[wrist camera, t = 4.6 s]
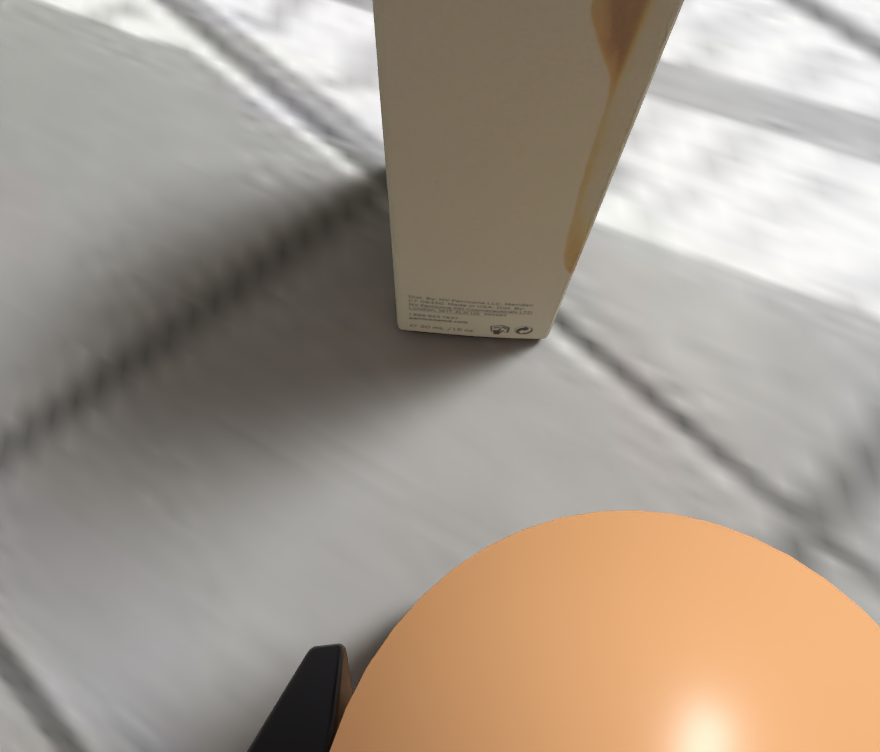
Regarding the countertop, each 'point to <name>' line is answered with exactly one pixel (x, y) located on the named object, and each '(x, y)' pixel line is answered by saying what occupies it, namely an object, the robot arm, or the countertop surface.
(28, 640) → the countertop surface
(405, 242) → the skincare box
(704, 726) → the peach dome-topped cylinder
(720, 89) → the countertop surface
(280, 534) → the countertop surface
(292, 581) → the countertop surface
